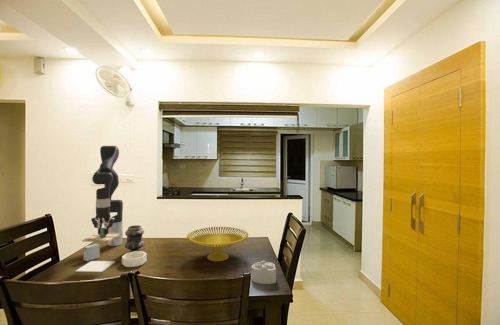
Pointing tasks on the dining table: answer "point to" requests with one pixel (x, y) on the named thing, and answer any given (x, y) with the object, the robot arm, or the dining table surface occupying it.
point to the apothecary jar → (134, 238)
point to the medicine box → (91, 252)
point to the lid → (102, 237)
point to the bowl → (134, 259)
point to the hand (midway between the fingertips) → (103, 234)
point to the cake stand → (217, 240)
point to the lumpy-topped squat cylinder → (263, 273)
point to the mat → (95, 266)
